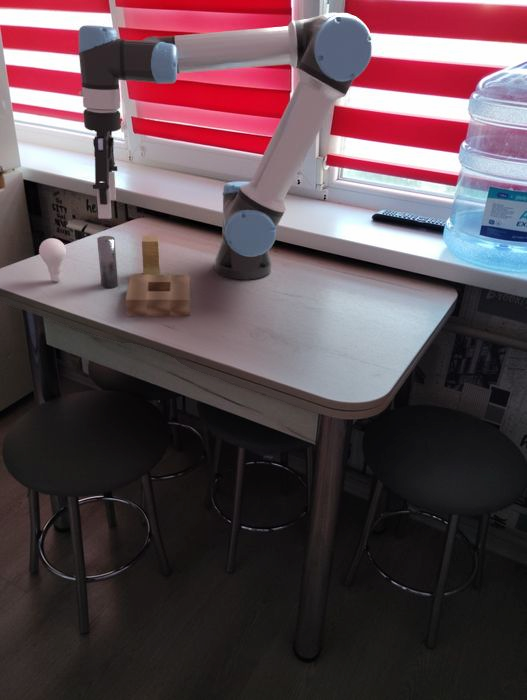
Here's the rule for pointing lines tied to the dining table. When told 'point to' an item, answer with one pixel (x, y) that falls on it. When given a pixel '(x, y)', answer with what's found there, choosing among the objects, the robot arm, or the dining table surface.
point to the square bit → (151, 255)
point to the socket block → (158, 295)
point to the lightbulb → (53, 257)
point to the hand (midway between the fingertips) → (107, 208)
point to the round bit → (107, 261)
